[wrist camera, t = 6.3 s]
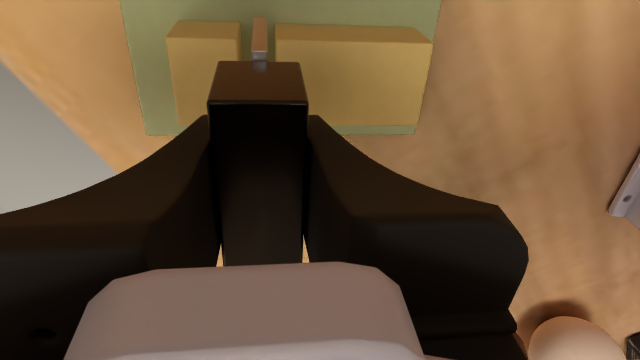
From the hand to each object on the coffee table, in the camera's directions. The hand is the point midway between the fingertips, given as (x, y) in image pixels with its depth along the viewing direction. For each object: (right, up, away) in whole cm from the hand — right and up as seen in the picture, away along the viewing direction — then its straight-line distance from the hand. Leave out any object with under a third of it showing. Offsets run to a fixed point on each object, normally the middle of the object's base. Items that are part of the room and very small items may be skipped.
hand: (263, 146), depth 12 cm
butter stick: (+3, +4, +6) cm, 8 cm away
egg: (+23, -17, +21) cm, 36 cm away
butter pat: (-3, +4, +6) cm, 8 cm away
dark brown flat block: (0, +2, +2) cm, 3 cm away
